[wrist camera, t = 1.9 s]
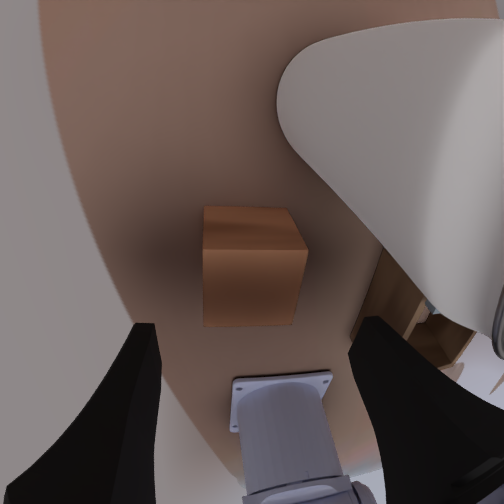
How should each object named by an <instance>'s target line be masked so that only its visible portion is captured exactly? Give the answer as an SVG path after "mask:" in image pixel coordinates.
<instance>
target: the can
mask: <svg viewBox="0 0 504 504" xmlns="http://www.w3.org/2000/svg"><path fill="white" fill-rule="evenodd" d="M277 114H278V119H279V123H280V126H281V129H282V131H283V133H284V135H285V137H286V139H287V141H288V142H289V144H290V145H291V146H292V148H293V149H294V150H295V151H296V152H297V153H298V155H299V156H300V157H301V158H302V159H303V160H304V161H305V162H306V163H307V164H308V165H309V166H310V167H311V168H312V169H313V170H314V171H315V172H316V173H317V174H318V175H319V176H320V177H321V178H322V179H323V180H324V181H325V182H326V183H327V184H328V185H329V186H330V187H331V189H332V190H333V191H334V192H335V193H336V194H337V195H338V196H339V197H340V198H341V199H342V200H343V201H344V202H345V203H346V205H347V206H348V207H349V208H350V209H351V210H352V211H353V212H354V213H355V214H356V215H357V217H358V218H359V219H360V220H361V221H362V222H363V223H364V224H365V225H366V227H367V228H368V229H369V230H370V231H371V232H372V233H373V235H374V236H375V237H376V238H377V239H378V240H379V241H380V243H381V244H382V245H383V246H384V247H385V248H386V250H387V251H388V252H389V253H390V254H391V256H392V257H393V258H394V259H395V260H396V262H397V263H398V264H399V265H400V266H401V268H402V269H403V270H404V271H405V272H406V274H407V275H408V276H409V277H410V279H411V280H412V281H413V282H414V283H415V285H416V286H417V287H418V288H419V289H420V291H421V292H422V293H423V294H424V295H425V297H426V298H427V299H428V300H429V301H430V303H431V304H432V305H433V306H434V307H435V308H436V309H437V310H438V311H439V312H440V313H441V314H443V315H444V316H445V317H447V318H448V319H450V320H452V321H454V322H456V323H458V324H460V325H462V326H464V327H467V328H469V329H472V330H474V331H477V332H479V333H481V334H484V335H486V336H488V337H489V338H490V339H491V340H492V346H493V349H494V352H495V353H496V355H497V356H498V357H499V358H500V359H503V360H504V20H502V19H488V18H456V19H438V20H426V21H416V22H408V23H400V24H394V25H387V26H381V27H376V28H370V29H365V30H361V31H356V32H351V33H347V34H343V35H339V36H335V37H331V38H328V39H324V40H321V41H319V42H316V43H314V44H312V45H310V46H308V47H306V48H305V49H303V50H302V51H301V52H299V53H298V54H297V55H296V56H295V57H294V58H293V59H292V60H291V62H290V63H289V64H288V66H287V67H286V69H285V71H284V73H283V75H282V77H281V80H280V83H279V87H278V91H277Z"/></svg>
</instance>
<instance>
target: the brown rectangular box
mask: <svg viewBox="0 0 504 504" xmlns="http://www.w3.org/2000/svg"><path fill="white" fill-rule="evenodd" d="M426 300H427V298H426V297H425V295H424V294H423V293H422V292H421V291H420V289H419V288H418V287H417V286H416V285H415V283H414V282H413V281H412V280H411V279H410V277H409V276H408V275H407V274H406V272H405V271H404V270H403V269H402V268H401V266H400V265H399V264H398V263H397V262H396V260H395V259H394V258H393V257H392V256H391V254H390V253H389V252H388V251H387V250H386V248H385V247H384V248H383V251H382V254H381V257H380V260H379V263H378V266H377V268H376V271H375V274H374V277H373V280H372V282H371V285H370V288H369V290H368V293H367V296H366V298H365V301H364V304H363V306H362V309H361V311H360V314H359V316H358V319H357V321H356V323H355V326H354V328H353V331H352V333H351V335H350V338H351V340H352V342H353V341H354V339H355V337H356V335H357V332H358V330H359V328H360V326H361V323H362V321H363V319H364V317H369V316H379V317H381V318H382V319H383V320H384V321H385V322H386V323H388V324H389V325H390V326H391V327H392V328H393V329H394V330H395V331H396V332H397V333H398V334H399V335H401V336H402V337H403V338H404V339H405V340H406V341H407V342H408V343H409V344H410V345H411V346H412V347H413V348H415V349H416V350H417V351H418V352H419V353H420V354H421V355H422V356H423V357H425V358H426V359H427V360H428V361H429V362H430V363H431V364H433V365H434V366H435V367H436V368H438V369H439V370H443V369H446V368H449V367H453V366H454V364H455V363H456V361H457V360H458V359H459V357H460V356H461V355H462V353H463V351H464V350H465V349H466V347H467V346H468V345H469V343H470V342H471V340H472V339H473V337H474V336H475V334H476V333H477V331H474V330H472V329H469V328H467V327H464V326H462V325H460V324H458V323H456V322H454V321H452V320H450V319H448V318H447V317H445V316H444V315H443V314H441V313H439V314H432V313H430V315H429V317H428V318H427V320H426V322H425V323H419V324H416V323H417V321H418V319H419V317H420V315H421V313H422V312H423V310H424V308H425V306H426V305H425V302H426Z"/></svg>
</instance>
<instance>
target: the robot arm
mask: <svg viewBox="0 0 504 504" xmlns="http://www.w3.org/2000/svg"><path fill="white" fill-rule="evenodd" d="M348 356H349V360H350V364H351V368H352V372H353V376H354V379H355V382H356V384H357V387H358V389H359V392H360V394H361V397H362V400H363V402H364V405H365V407H366V410H367V412H368V415H369V417H370V420H371V423H372V425H373V428H374V431H375V435H376V439H377V443H378V447H379V451H380V456H381V462H382V467H383V473H384V481H385V489H386V504H504V410H503V409H500V408H498V407H496V406H494V405H492V404H490V403H488V402H486V401H484V400H482V399H481V398H479V397H477V396H475V395H474V394H472V393H471V392H469V391H467V390H466V389H464V388H463V387H461V386H460V385H458V384H457V383H456V382H454V381H453V380H452V379H450V378H449V377H447V376H446V375H445V374H444V373H442V372H441V371H440V370H439V369H438V368H436V367H435V366H434V365H433V364H431V363H430V362H429V361H428V360H427V359H426V358H425V357H423V356H422V355H421V354H420V353H419V352H418V351H417V350H416V349H415V348H413V347H412V346H411V345H410V344H409V343H408V342H407V341H406V340H405V339H404V338H403V337H402V336H401V335H399V334H398V333H397V332H396V331H395V330H394V329H393V328H392V327H391V326H390V325H389V324H388V323H386V322H385V321H384V320H383V319H382V318H381V317H379V316H369V317H364V319H363V321H362V323H361V326H360V328H359V330H358V332H357V335H356V337H355V339H354V341H353V344H352V346H351V348H350V350H349V352H348ZM161 370H162V361H161V356H160V351H159V346H158V341H157V336H156V330H155V325H154V323H135V324H134V325H133V327H132V329H131V331H130V333H129V335H128V337H127V339H126V341H125V343H124V344H123V346H122V348H121V350H120V352H119V353H118V355H117V357H116V359H115V360H114V362H113V364H112V366H111V367H110V369H109V370H108V372H107V374H106V376H105V377H104V379H103V380H102V382H101V383H100V385H99V386H98V388H97V389H96V391H95V393H94V394H93V395H92V397H91V398H90V400H89V401H88V402H87V404H86V405H85V407H84V408H83V409H82V411H81V412H80V413H79V415H78V416H77V417H76V418H75V420H74V421H73V422H72V423H71V425H70V426H69V427H68V428H67V430H65V432H64V433H63V434H62V435H61V436H60V437H59V439H58V440H57V441H56V442H55V443H54V444H53V445H52V446H51V447H50V448H49V449H48V450H47V451H46V452H45V453H44V454H43V455H42V456H41V457H40V458H39V459H38V460H37V461H36V462H35V463H34V464H33V465H32V466H31V467H30V468H28V469H27V470H26V471H25V472H23V473H22V474H21V475H20V476H18V477H17V478H16V479H15V480H14V481H12V482H11V483H10V484H9V485H7V488H6V492H5V495H4V503H3V504H156V498H155V483H154V482H155V481H154V443H155V434H156V425H157V416H158V409H159V401H160V393H161ZM332 378H333V375H332V372H330V371H326V372H318V373H308V374H298V375H287V376H274V377H259V378H239V379H235V380H234V381H233V386H232V399H231V413H230V427H229V428H230V431H231V432H239V436H240V444H241V452H242V460H243V468H244V475H245V483H246V490H247V496H243V497H242V500H243V504H377V503H376V500H375V498H374V496H373V494H372V492H371V490H370V489H369V488H368V487H367V486H366V485H364V484H361V483H360V482H359V481H354V482H351V481H350V478H349V475H345V476H344V475H343V472H342V468H341V465H340V461H339V458H338V454H337V451H336V448H335V444H334V441H333V438H332V434H331V431H330V428H329V424H328V421H327V418H326V414H325V411H324V408H323V404H322V401H321V400H322V398H323V396H324V394H325V392H326V390H327V388H328V386H329V384H330V382H331V380H332Z"/></svg>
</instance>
